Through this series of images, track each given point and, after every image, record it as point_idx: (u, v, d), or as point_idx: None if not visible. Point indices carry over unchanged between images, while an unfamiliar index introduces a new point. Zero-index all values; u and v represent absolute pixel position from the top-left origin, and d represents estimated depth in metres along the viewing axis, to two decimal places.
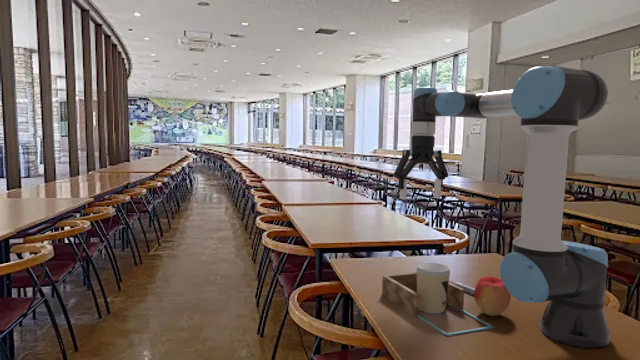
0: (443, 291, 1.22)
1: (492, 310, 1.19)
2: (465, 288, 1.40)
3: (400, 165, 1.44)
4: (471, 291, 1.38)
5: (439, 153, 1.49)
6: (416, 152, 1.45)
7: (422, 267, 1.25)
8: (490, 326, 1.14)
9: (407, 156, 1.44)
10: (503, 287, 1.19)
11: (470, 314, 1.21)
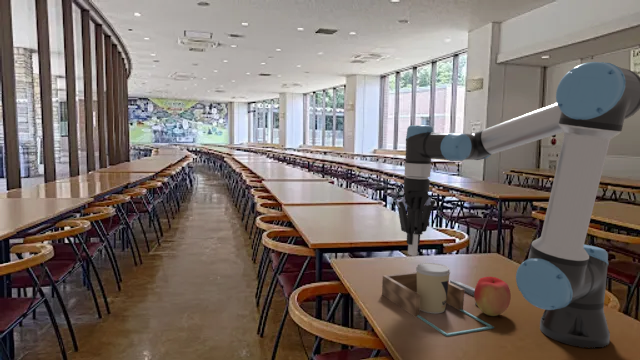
0: (443, 291, 1.22)
1: (492, 310, 1.19)
2: (465, 288, 1.40)
3: (402, 219, 1.31)
4: (470, 291, 1.38)
5: (432, 203, 1.34)
6: (409, 197, 1.31)
7: (422, 267, 1.25)
8: (490, 326, 1.14)
9: (403, 208, 1.30)
10: (503, 287, 1.19)
11: (470, 314, 1.21)
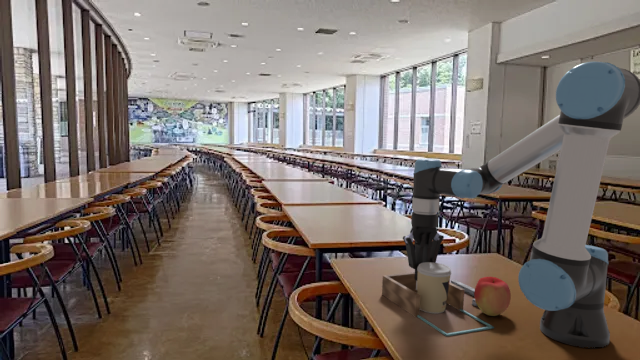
0: (444, 291, 1.22)
1: (492, 310, 1.19)
2: (464, 288, 1.40)
3: (410, 256, 1.28)
4: (469, 291, 1.38)
5: (440, 238, 1.30)
6: (416, 233, 1.27)
7: (423, 267, 1.25)
8: (490, 326, 1.14)
9: (411, 244, 1.27)
10: (503, 287, 1.19)
11: (470, 314, 1.21)
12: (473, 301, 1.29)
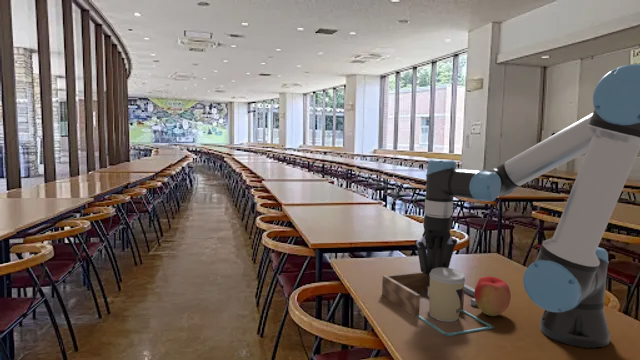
0: (457, 299, 1.16)
1: (492, 310, 1.19)
2: (464, 288, 1.40)
3: (422, 260, 1.22)
4: (469, 291, 1.38)
5: (454, 242, 1.25)
6: (429, 237, 1.21)
7: (436, 273, 1.19)
8: (490, 326, 1.14)
9: (423, 249, 1.21)
10: (503, 287, 1.19)
11: (470, 314, 1.21)
12: (471, 301, 1.30)
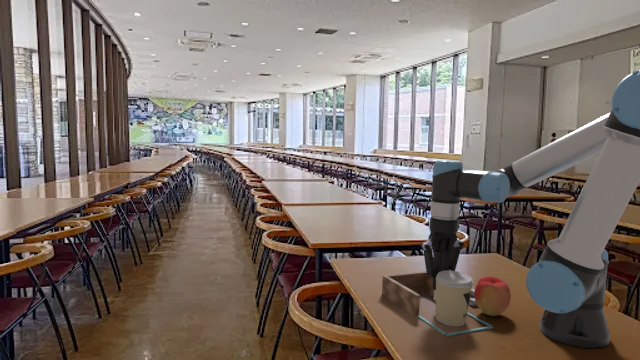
0: (465, 303, 1.13)
1: (492, 310, 1.19)
2: None
3: (428, 263, 1.20)
4: None
5: (460, 245, 1.22)
6: (435, 239, 1.19)
7: (442, 276, 1.16)
8: (490, 326, 1.14)
9: (429, 251, 1.18)
10: (503, 287, 1.19)
11: (470, 314, 1.21)
12: (470, 301, 1.30)
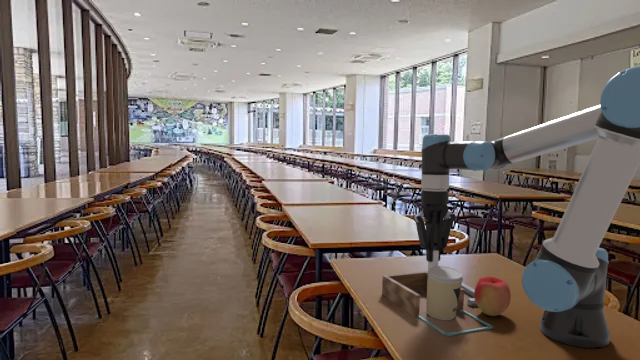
0: (454, 298, 1.17)
1: (492, 310, 1.19)
2: (464, 288, 1.40)
3: (421, 235, 1.23)
4: (468, 291, 1.38)
5: (452, 216, 1.25)
6: (427, 211, 1.22)
7: (434, 272, 1.19)
8: (490, 326, 1.14)
9: (422, 223, 1.22)
10: (503, 287, 1.19)
11: (470, 314, 1.21)
12: (468, 301, 1.30)
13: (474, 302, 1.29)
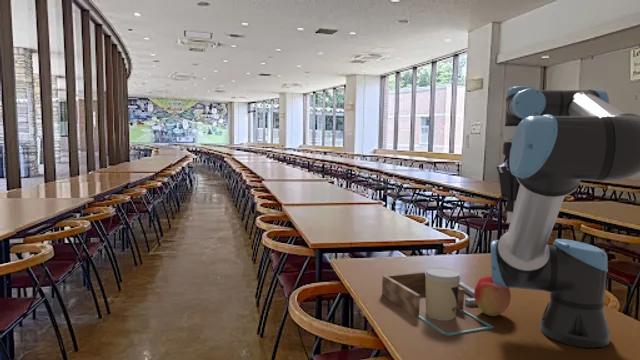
0: (453, 297, 1.17)
1: (492, 310, 1.19)
2: (464, 288, 1.40)
3: (504, 185, 1.26)
4: (468, 291, 1.38)
5: None
6: None
7: (431, 272, 1.21)
8: (490, 326, 1.14)
9: (506, 173, 1.25)
10: (503, 287, 1.19)
11: (470, 314, 1.21)
12: (466, 300, 1.30)
13: (471, 302, 1.29)
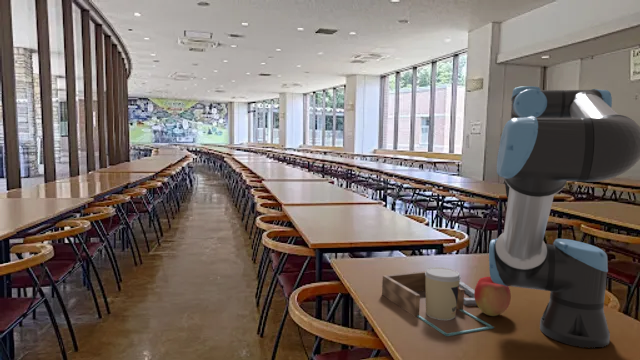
0: (453, 297, 1.17)
1: (492, 310, 1.19)
2: (464, 288, 1.41)
3: None
4: (467, 291, 1.38)
5: None
6: None
7: (431, 272, 1.21)
8: (490, 326, 1.14)
9: None
10: (503, 287, 1.19)
11: (470, 314, 1.21)
12: (464, 300, 1.30)
13: (469, 302, 1.29)
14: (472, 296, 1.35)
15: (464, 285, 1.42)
